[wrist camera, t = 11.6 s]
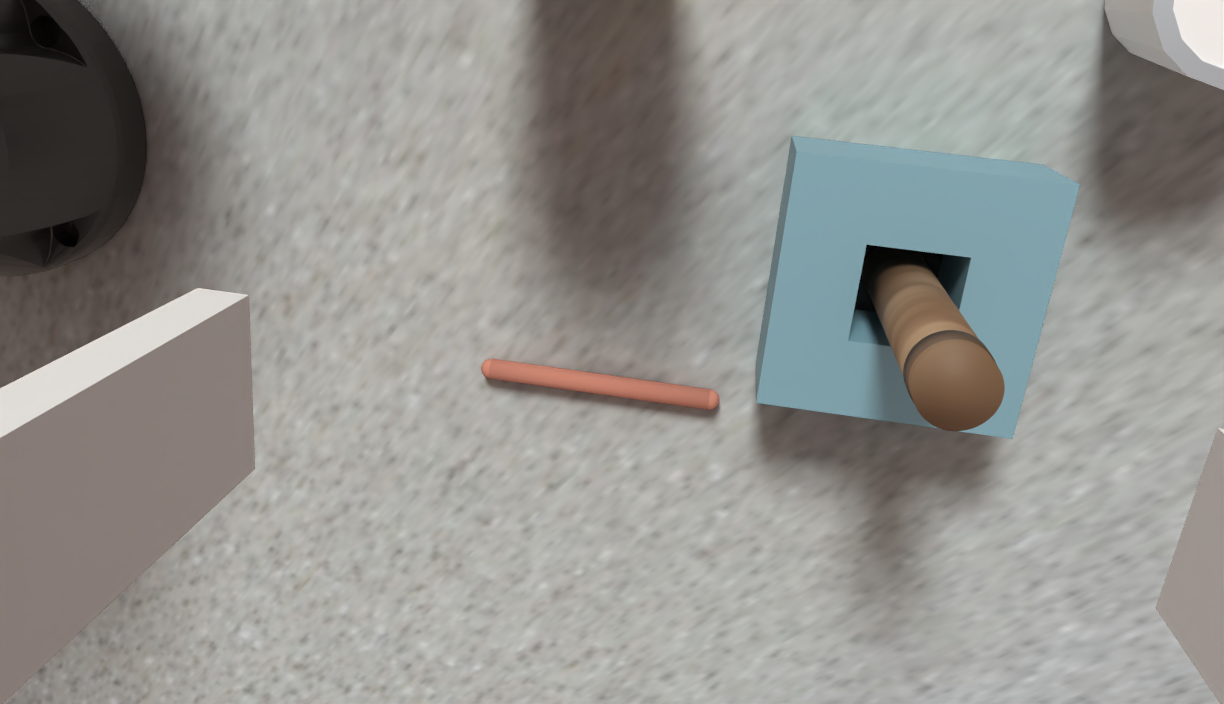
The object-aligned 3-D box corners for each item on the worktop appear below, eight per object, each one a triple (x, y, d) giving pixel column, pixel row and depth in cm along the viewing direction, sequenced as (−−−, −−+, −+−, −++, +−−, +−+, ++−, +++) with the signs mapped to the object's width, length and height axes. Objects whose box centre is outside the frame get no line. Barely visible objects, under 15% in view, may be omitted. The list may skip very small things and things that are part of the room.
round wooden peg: (856, 297, 45) (903, 425, 31) (867, 237, 44) (921, 342, 30) (918, 305, 45) (994, 438, 31) (931, 244, 44) (1016, 354, 30)
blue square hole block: (755, 363, 47) (756, 402, 43) (791, 135, 43) (796, 151, 39) (986, 395, 46) (1012, 438, 42) (1043, 164, 42) (1080, 184, 38)
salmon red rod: (483, 372, 49) (478, 380, 48) (484, 354, 49) (479, 361, 48) (718, 406, 48) (717, 414, 47) (721, 387, 48) (720, 395, 47)
